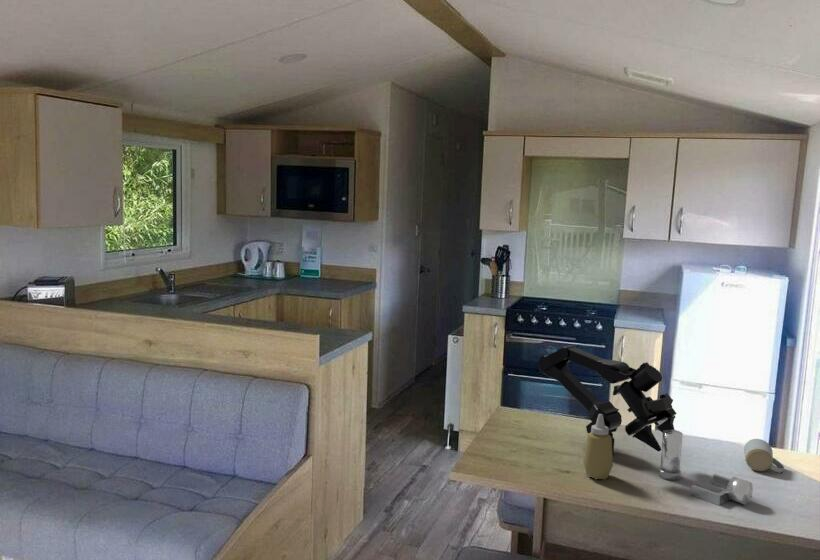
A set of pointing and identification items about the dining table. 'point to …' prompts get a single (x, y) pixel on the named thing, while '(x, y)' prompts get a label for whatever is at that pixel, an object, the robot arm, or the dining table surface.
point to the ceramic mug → (761, 456)
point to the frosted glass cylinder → (671, 455)
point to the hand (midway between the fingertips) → (668, 447)
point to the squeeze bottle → (598, 451)
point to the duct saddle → (734, 490)
